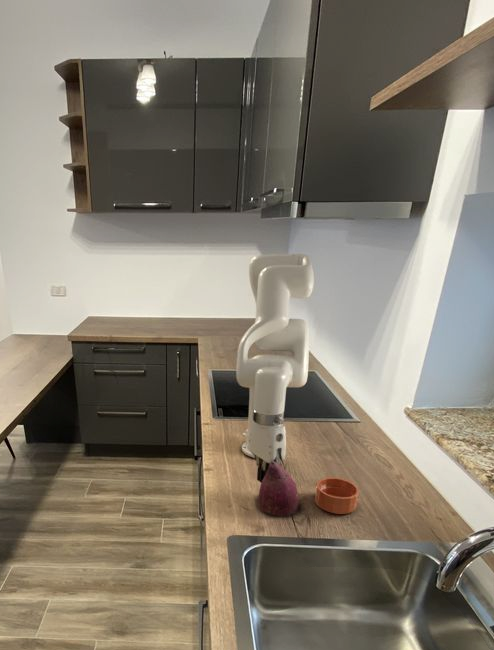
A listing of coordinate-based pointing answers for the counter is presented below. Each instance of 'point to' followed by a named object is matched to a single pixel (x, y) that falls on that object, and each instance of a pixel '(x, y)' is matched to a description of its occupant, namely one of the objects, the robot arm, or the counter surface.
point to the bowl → (336, 495)
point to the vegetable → (278, 492)
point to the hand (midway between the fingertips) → (263, 480)
